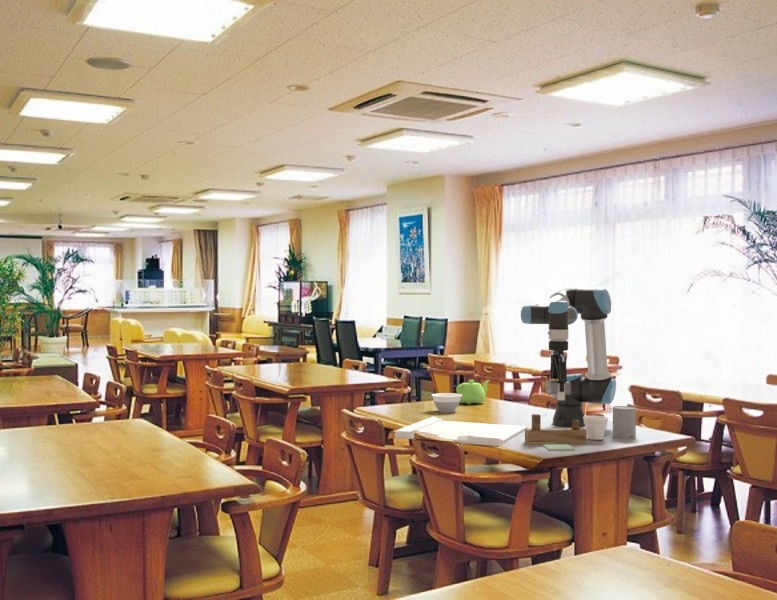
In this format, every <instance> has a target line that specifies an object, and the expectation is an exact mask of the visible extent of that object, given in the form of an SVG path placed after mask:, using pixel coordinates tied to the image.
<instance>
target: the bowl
mask: <svg viewBox="0 0 777 600" xmlns="http://www.w3.org/2000/svg"><path fill="white" fill-rule="evenodd" d="M461 396H462V395H461V394H457V393H453V392H449V393H448V392H445V393H444V392H441V393H439V392H438V393H437V392H436V393H433V394H431V397H432V398H433V403H434V406H435V408H436V409H437V411H438V412H439V413H446V414H447V413H448V414H449V413H456V410H457V409H458V407H459V405H460V403H461V402H460V397H461Z"/></svg>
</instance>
